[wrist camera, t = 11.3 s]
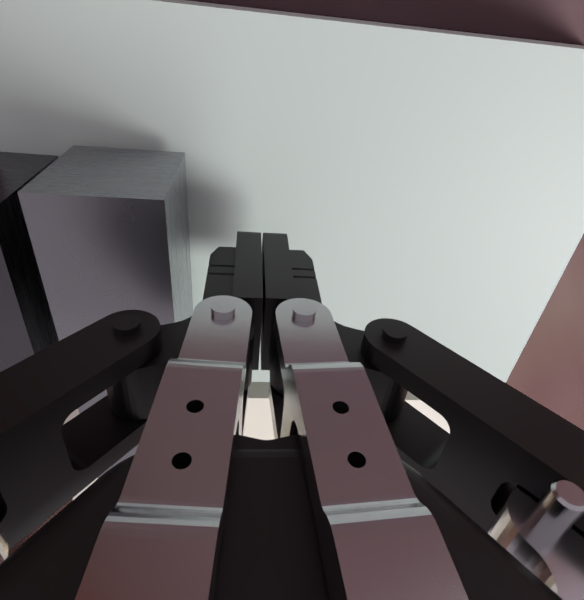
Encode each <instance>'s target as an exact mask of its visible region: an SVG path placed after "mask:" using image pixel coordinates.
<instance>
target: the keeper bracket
mask: <svg viewBox="0 0 584 600" xmlns="http://www.w3.org/2000/svg"><path fill="white" fill-rule="evenodd" d="M57 159H58V156H55V155H41V154H27V153H13V152H0V372H1V371H3V370H5V369H7V368H9V367H11V366H13V365H15V364H17V363H18V362H20V361H22V360H24V359H26V358H28V357H30V356H32V355H34V354H35V353H37V352H39V351H41V350H43V349H45V348H47V347H49V346H51V345H53V344H54V343H56V342H58V341H59V339H58V336H57V332H56V328H55V325H54V321H53V318H52V314H51V311H50V307H49V303H48V300H47V296H46V293H45V289H44V286H43V282H42V278H41V275H40V271H39V268H38V264H37V261H36V257H35V254H34V250H33V246H32V243H31V239H30V236H29V232H28V229H27V225H26V221H25V218H24V214H23V211H22V207H21V204H20V200H19V196H18V193H17V192H18V191H20V190H21V189H22V188H23V187H24V186H26V185H27V184H28V183H29V182H30V181H31V180H33V179H34V178H35V177H36V176H37V175H39V174H40V173H41V172H42V171H43V170H45V169H46V168H47V167H48V166H49V165H51V164H52V163H53V162H54V161H55V160H57Z"/></svg>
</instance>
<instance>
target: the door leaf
mask: <svg viewBox="0 0 584 600" xmlns="http://www.w3.org/2000/svg"><path fill="white" fill-rule="evenodd" d="M73 145H77V146H92V147H108V148H123V149H139V150H154V151H169V152H185V163H186V182H187V202H188V221H189V240H190V260H191V279H192V299H193V311H194V308H195V306H196V305H197V304H198V303H199V302H201V301H202V300H203V294H204V288H205V283H206V277H207V271H208V266H209V259H210V254H212V253H213V252H214V251H215V250H216V249H217V248H218V247H219V246H220V247H236V241H237V231H242V232H261V243H262V239H263V233H283V234H287V237H288V244H289V250H304V251H305V252H306V253H307V254H308V255H309V256H310V257H311V258H312V260H313V265H314V271H315V274H316V279H317V283H318V288H319V292H320V297H321V301H322V304H323V305H325V306H326V307H327V308H328V309H329V310H330V312H331V314H332V317H333V320H334V321H335V322H337V323H339V324H341V325H344V326H346V327H350V328H354V329H358V330H362V331H364V330H365V327H366V325H367V324H368V323H370V322H371V321H373V320H376V319H381V318H390V319H396V320H400V321H403V322H405V323H407V324H409V325H411V326H413V327H414V328H416V329H418V330H419V331H421V332H423V333H424V334H426V335H428V336H429V337H431V338H432V339H434V340H436V341H437V342H439V343H441V344H442V345H444V346H446V347H447V348H449V349H450V350H452V351H454V352H455V353H457V354H459V355H460V356H462V357H464V358H465V359H467V360H469V361H470V362H472V363H473V364H475V365H477V366H478V367H480V368H482V369H483V370H485V371H487V372H488V373H490V374H491V375H493V376H495V377H496V378H498V379H500V380H501V381H503V382H505V383H506V381H507V379H508V377H509V375H510V373H511V371H512V369H513V368H514V366H515V364H516V362H517V360H518V358H519V356H520V354H521V352H522V350H523V348H524V346H525V345H526V343H527V341H528V339H529V337H530V335H531V333H532V331H533V329H534V327H535V325H536V323H537V322H538V320H539V318H540V316H541V314H542V312H543V310H544V308H545V306H546V304H547V302H548V300H549V299H550V297H551V295H552V293H553V291H554V289H555V287H556V285H557V283H558V281H559V279H560V278H561V276H562V274H563V272H564V270H565V268H566V266H567V264H568V262H569V260H570V258H571V256H572V255H573V253H574V251H575V249H576V247H577V245H578V243H579V241H580V239H581V237H582V235H583V233H584V46H583V45H575V44H566V43H557V42H548V41H539V40H531V39H522V38H513V37H504V36H495V35H487V34H478V33H469V32H460V31H452V30H443V29H434V28H425V27H416V26H408V25H399V24H390V23H381V22H373V21H364V20H355V19H346V18H337V17H329V16H320V15H311V14H302V13H294V12H285V11H276V10H267V9H258V8H250V7H241V6H232V5H223V4H214V3H206V2H197V1H188V0H0V152H13V153H27V154H41V155H55V156H58V158H59V157H60V156H61V155H63V154H64V153H65V152H66V151H67V150H69V149H70V148H71V147H72V146H73ZM269 381H270V371H269V370H261V346H260V353H259V369H258V370H252V380H251V382H269Z"/></svg>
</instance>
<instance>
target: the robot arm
mask: <svg viewBox="0 0 584 600" xmlns="http://www.w3.org/2000/svg"><path fill="white" fill-rule="evenodd" d="M260 346H261V370H269V371H270V381H269V401H270V409H271V416H272V423H273V431H274V438H275V439H273V440H261V439H256V438H251V437H247V436H244V427H245V418H246V410H247V401H248V390H249V386H250V384H251V380H252V370H258V369H259V353H260ZM105 390H107V394H108V395H107V396H105V397H104V398H102V399H101V400H99V401H98V402H96V403H95V404H93V405H92V406H90V407H89V408H87V409H86V410H84V411H83V412H81V413H80V414H78V415H77V416H76V417H74V418H73V419H71V420H70V421H68V422H67V423H65V424H64V422H65V420H66V419H67V417H68V416H69V415H70V414H71V413H72V412H73V411H75V410H76V409H78V408H79V407H81V406H82V405H84V404H85V403H87V402H88V401H90V400H91V399H93V398H94V397H96V396H97V395H99V394H100V393H102V392H103V391H105ZM408 391H409V392H410V393H411V394H413V395H414V396H416V397H417V398H418V399H420V400H421V401H423V402H424V403H425V404H427V405H428V406H430V407H431V408H432V409H434V410H435V411H436V412H438V413H439V414H440V415H442V416H443V417H444V419H445V420H446V421H447V423H448V425H449V428H450V434H449V433H448V432H447V431H445V430H444V429H442V428H441V427H440V426H438V425H437V424H436V423H434V422H433V421H432V420H430V419H429V418H428V417H426V416H425V415H423V414H422V413H421V412H419V411H418V410H417V409H415V408H414V407H413V406H411V405H410V404H409V403H407V402H406V401H405V398H406V395H407V392H408ZM63 424H64V425H63ZM137 445H138V447H137V450H136V453H135V455H133V456H130V457H129V458H127V459H125V460H123V461H122V462H120V463H118V464H117V465H115V466H114V467H112V468H111V469H109V468H110V467H111V466H112V465H113V464H115V463H116V462H117V461H118V460H120V459H121V458H122V457H123V456H124V455H126V454H127V453H128V452H129V451H131V450H132V449H133V448H134V447H135V446H137ZM107 469H109V470H108V471H107V472H105V471H106V470H107ZM104 472H105V473H104ZM102 473H104V474H103V475H102V476H101V477H99V476H100V475H101V474H102ZM98 477H99V478H98ZM96 478H98V479H97V480H96V481H95V482H94V483H93V484H91V485H90V486H89V487H88V488H87V489H86V490H84V491H83V492H82V493H81V494H80V495H79V496H78V497H76V498H75V499H74V500H73V501H72V502H71V503H70V504H68V505H67V506H66V507H65V508H64V509H63V510H62V511H60V512H59V513H58V514H57V515H56V516H55V517H53V518H52V519H51V520H50V521H49V522H48V523H47V524H45V525H44V526H43V527H42V528H41V529H40V530H39V531H37V532H36V533H35V534H34V535H33V536H32V537H30V538H29V539H28V540H27V541H26V542H25V543H24V544H22V545H21V546H20V547H19V548H18V549H17V550H16V551H14V552H13V553H12V554H11V555H10V556H9V557H8V551H9V550H10V549H11V548H12V547H13V546H15V545H16V544H17V543H18V542H20V541H21V540H22V539H23V538H24V537H26V536H27V535H28V534H29V533H31V532H32V531H33V530H34V529H35V528H37V527H38V526H39V525H40V524H41V523H43V522H44V521H45V520H46V519H48V518H49V517H50V516H51V515H52V514H54V513H55V512H56V511H57V510H59V509H60V508H61V507H62V506H63V505H65V504H66V503H67V502H68V501H70V500H71V499H72V498H73V497H74V496H76V495H77V494H78V493H79V492H81V491H82V490H83V489H84V488H85V487H87V486H88V485H89V484H90V483H92V482H93V481H94V480H95V479H96ZM0 600H584V431H583V430H582V429H580V428H578V427H577V426H575V425H573V424H572V423H570V422H569V421H567V420H565V419H564V418H562V417H560V416H559V415H557V414H555V413H554V412H552V411H551V410H549V409H547V408H546V407H544V406H542V405H541V404H539V403H537V402H536V401H534V400H532V399H531V398H529V397H528V396H526V395H524V394H523V393H521V392H519V391H518V390H516V389H514V388H513V387H511V386H510V385H508V384H506V383H505V382H503V381H501V380H500V379H498V378H496V377H495V376H493V375H491V374H490V373H488V372H487V371H485V370H483V369H482V368H480V367H478V366H477V365H475V364H473V363H472V362H470V361H469V360H467V359H465V358H464V357H462V356H460V355H459V354H457V353H455V352H454V351H452V350H450V349H449V348H447V347H446V346H444V345H442V344H441V343H439V342H437V341H436V340H434V339H432V338H431V337H429V336H428V335H426V334H424V333H423V332H421V331H419V330H418V329H416V328H414V327H413V326H411V325H409V324H407V323H405V322H403V321H400V320H396V319H390V318H381V319H376V320H373V321H371V322H370V323H368V324H367V325H366V327H365V330H364V331H362V330H358V329H354V328H350V327H346V326H344V325H341V324H339V323H337V322H335V321H334V320H333V317H332V314H331V312H330V310H329V309H328V308H327V307H326V306H325V305H323V304H322V301H321V297H320V292H319V288H318V283H317V279H316V274H315V271H314V265H313V260H312V258H311V257H310V256H309V255H308V254H307V253H306V252H305V251H304V250H289V244H288V237H287V234H283V233H263V239H262V243H261V232H242V231H237V241H236V247H220V246H219V247H218V248H217V249H216V250H215V251H214V252H213V253H212V254H210V259H209V266H208V271H207V277H206V283H205V288H204V294H203V300H202V301H201V302H199V303H198V304H197V305H196V306H195V308H194V311H193V314H192V316H191V317H189V318H187V319H185V320H182V321H179V322H175V323H169V324H164V325H160V322H159V320H158V318H157V317H156V316H154V315H153V314H151V313H149V312H146V311H142V310H123V311H119V312H115V313H112V314H110V315H108V316H106V317H104V318H102V319H100V320H98V321H96V322H94V323H92V324H91V325H89V326H87V327H85V328H83V329H81V330H79V331H77V332H75V333H73V334H72V335H70V336H68V337H66V338H64V339H62V340H60V341H58V342H56V343H54V344H53V345H51V346H49V347H47V348H45V349H43V350H41V351H39V352H37V353H35V354H34V355H32V356H30V357H28V358H26V359H24V360H22V361H20V362H18V363H17V364H15V365H13V366H11V367H9V368H7V369H5V370H3V371H1V372H0Z"/></svg>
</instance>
